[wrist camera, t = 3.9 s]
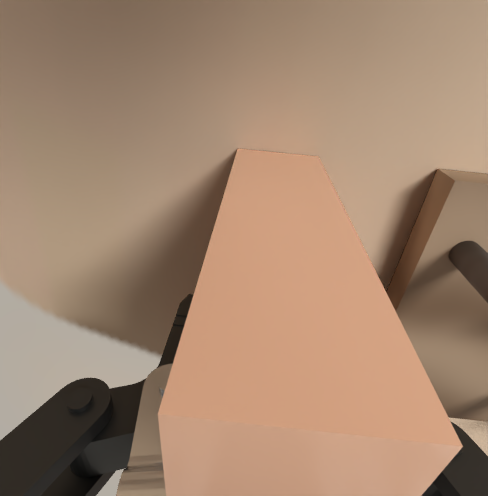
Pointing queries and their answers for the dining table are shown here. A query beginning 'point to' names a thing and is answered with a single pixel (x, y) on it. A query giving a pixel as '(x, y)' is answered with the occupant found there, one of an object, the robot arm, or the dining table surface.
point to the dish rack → (449, 291)
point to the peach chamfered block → (295, 355)
